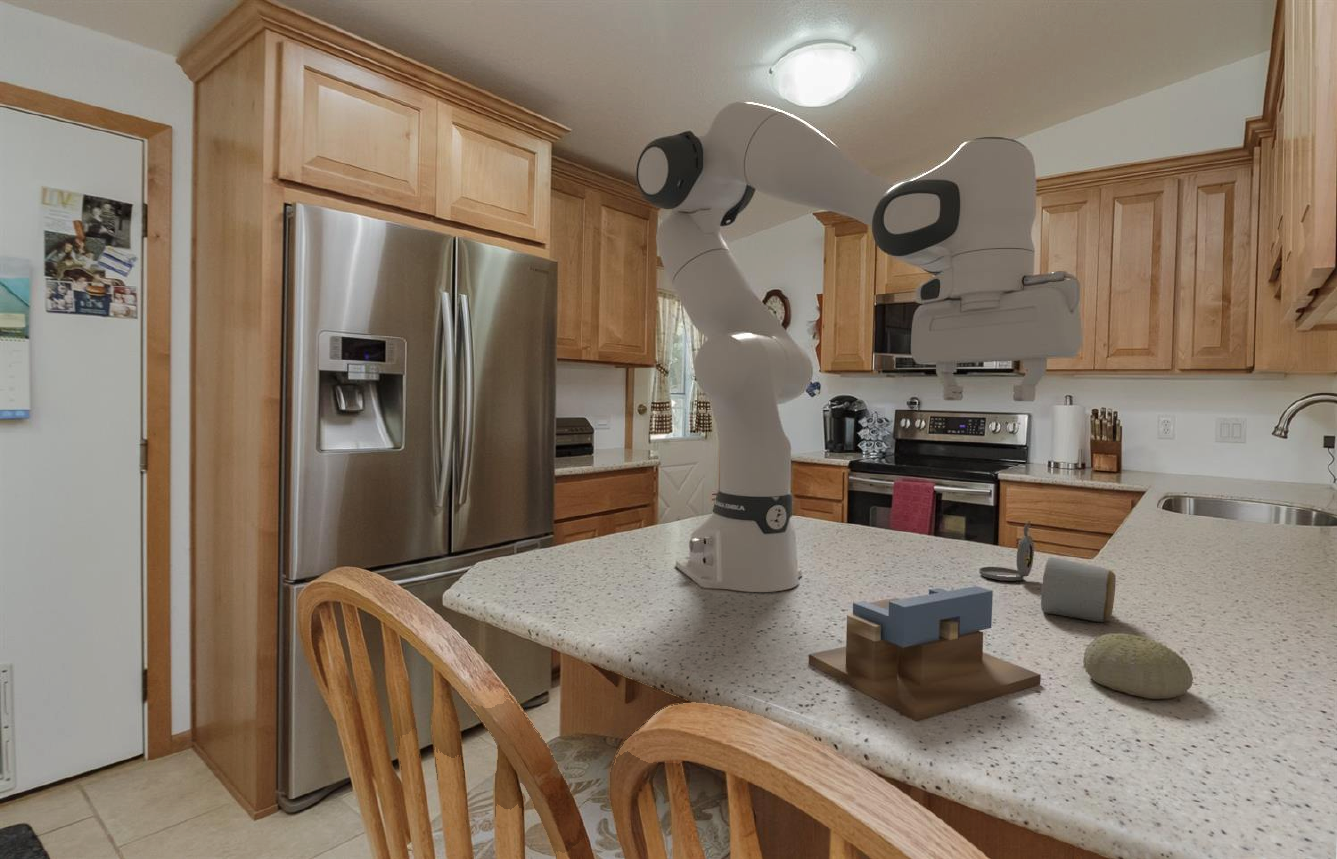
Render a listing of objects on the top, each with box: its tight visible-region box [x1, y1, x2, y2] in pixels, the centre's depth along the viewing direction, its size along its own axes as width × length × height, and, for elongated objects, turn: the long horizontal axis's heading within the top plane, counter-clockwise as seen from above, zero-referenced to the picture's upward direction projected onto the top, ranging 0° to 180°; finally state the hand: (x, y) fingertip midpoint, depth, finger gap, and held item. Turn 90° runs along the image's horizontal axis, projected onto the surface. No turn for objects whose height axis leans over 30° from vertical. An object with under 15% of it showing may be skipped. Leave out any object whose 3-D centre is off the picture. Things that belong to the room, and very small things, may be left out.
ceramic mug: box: [1040, 556, 1117, 623], centre depth 94 cm, size 11×8×8 cm
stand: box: [808, 597, 1042, 722], centre depth 73 cm, size 15×18×7 cm
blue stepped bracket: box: [852, 585, 994, 648], centre depth 72 cm, size 7×13×4 cm, turn 118°
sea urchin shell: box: [1082, 633, 1194, 700], centre depth 71 cm, size 9×8×8 cm
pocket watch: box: [978, 520, 1035, 582], centre depth 112 cm, size 8×8×10 cm
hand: (986, 400), depth 80 cm, fingers open, 8 cm apart
